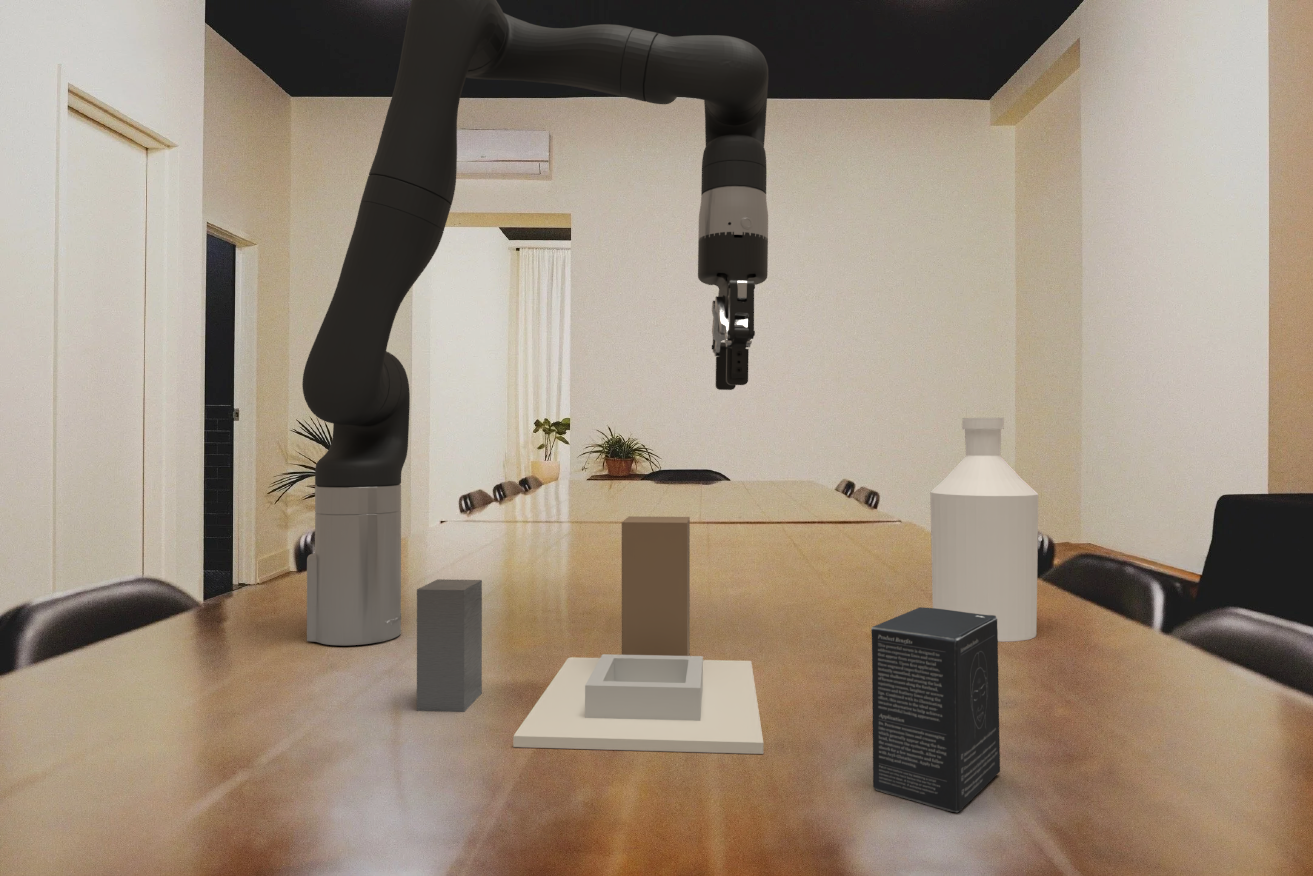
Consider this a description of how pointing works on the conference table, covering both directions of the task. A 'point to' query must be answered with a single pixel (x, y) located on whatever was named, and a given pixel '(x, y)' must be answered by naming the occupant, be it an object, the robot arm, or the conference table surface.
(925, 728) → the box
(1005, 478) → the bottle
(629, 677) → the post base
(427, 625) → the tall grey pillar block
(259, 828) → the conference table surface
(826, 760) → the conference table surface
